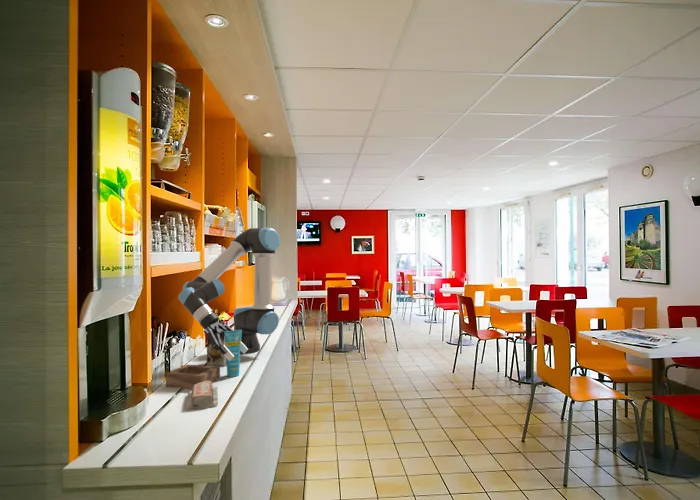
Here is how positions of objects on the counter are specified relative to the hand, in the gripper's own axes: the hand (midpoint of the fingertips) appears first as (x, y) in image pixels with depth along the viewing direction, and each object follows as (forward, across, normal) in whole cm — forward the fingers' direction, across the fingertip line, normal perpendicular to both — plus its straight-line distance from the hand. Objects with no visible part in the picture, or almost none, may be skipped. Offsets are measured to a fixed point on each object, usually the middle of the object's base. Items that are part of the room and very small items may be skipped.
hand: (239, 355), depth 176 cm
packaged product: (+7, +28, -6) cm, 29 cm away
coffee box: (-7, -15, -20) cm, 26 cm away
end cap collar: (-3, +12, -16) cm, 20 cm away
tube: (+4, 0, -8) cm, 9 cm away
